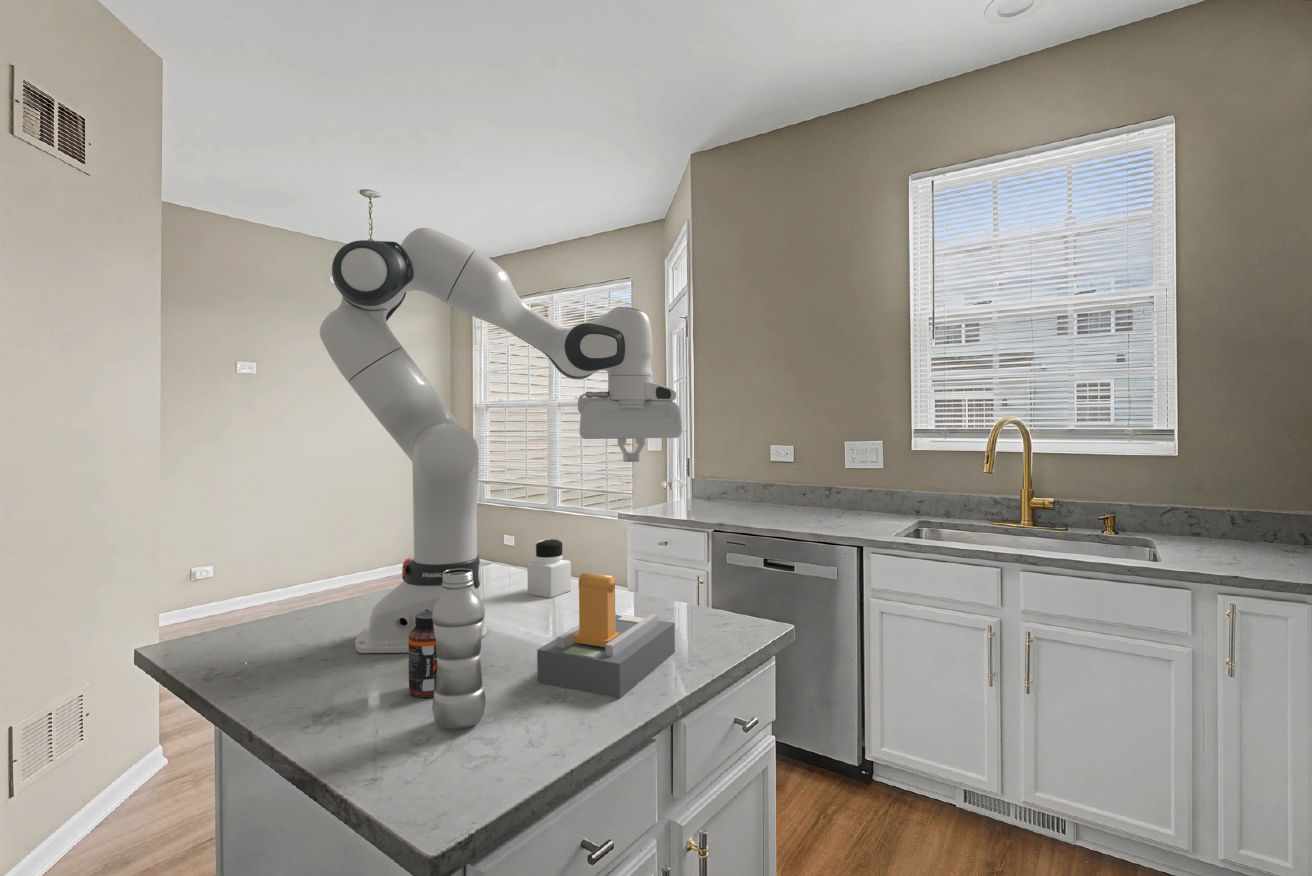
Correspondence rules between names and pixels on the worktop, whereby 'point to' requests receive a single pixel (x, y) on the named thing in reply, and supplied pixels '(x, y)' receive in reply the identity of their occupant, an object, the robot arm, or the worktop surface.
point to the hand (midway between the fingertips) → (631, 461)
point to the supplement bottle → (422, 656)
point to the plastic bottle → (458, 652)
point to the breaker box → (607, 657)
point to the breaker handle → (596, 610)
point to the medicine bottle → (549, 570)
